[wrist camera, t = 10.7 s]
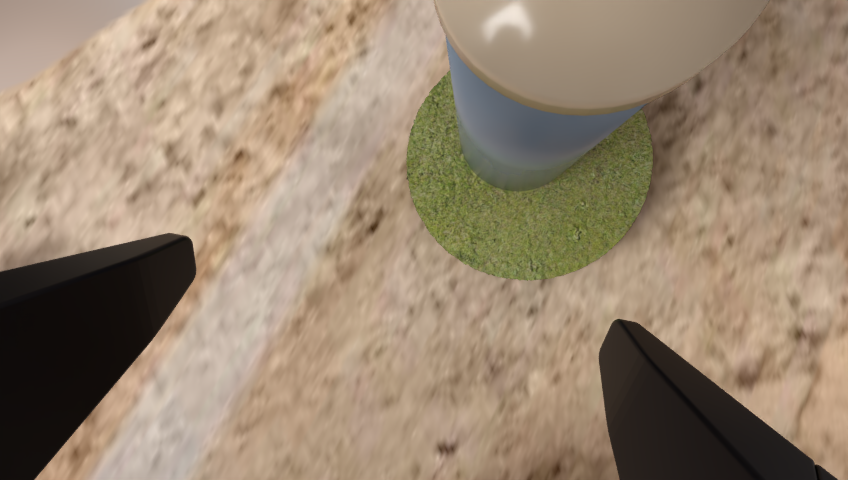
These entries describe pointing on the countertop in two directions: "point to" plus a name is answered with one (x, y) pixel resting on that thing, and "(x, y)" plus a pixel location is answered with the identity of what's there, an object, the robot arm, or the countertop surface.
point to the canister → (570, 73)
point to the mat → (525, 198)
